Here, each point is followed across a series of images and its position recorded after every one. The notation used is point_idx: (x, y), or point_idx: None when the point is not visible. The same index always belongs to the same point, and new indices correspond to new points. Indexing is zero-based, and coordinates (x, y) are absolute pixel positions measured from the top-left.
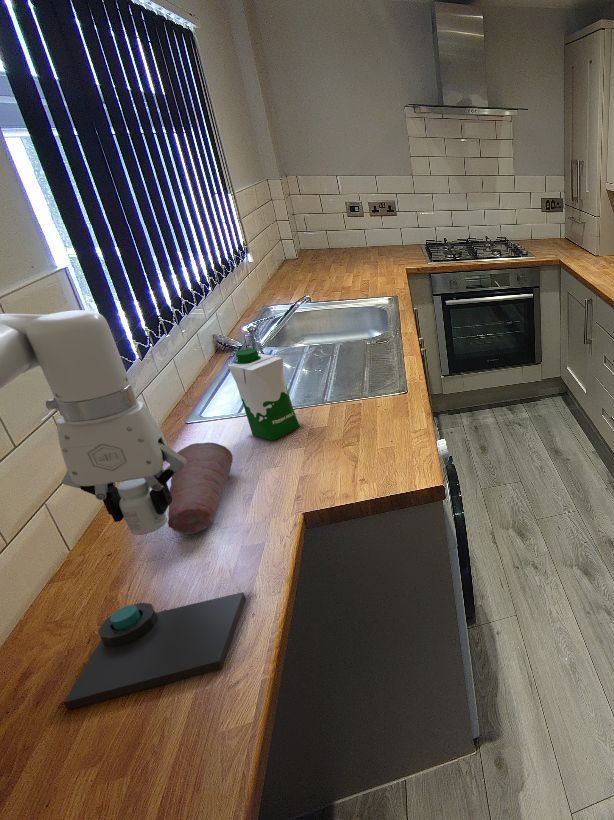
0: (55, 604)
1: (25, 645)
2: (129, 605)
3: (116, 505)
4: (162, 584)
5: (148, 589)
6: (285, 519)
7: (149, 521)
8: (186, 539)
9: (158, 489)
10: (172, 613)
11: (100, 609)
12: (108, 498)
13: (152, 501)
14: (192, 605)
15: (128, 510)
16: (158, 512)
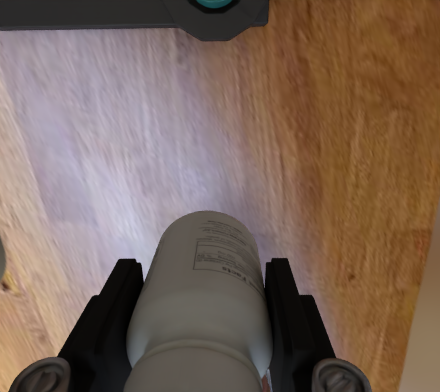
0: (409, 162)
1: (433, 47)
2: (210, 2)
3: (276, 321)
4: (218, 152)
5: (241, 145)
6: (38, 280)
7: (171, 239)
8: None
9: (51, 366)
10: (132, 3)
11: (318, 113)
12: (304, 361)
13: (118, 307)
14: (95, 19)
15: (215, 277)
16: (128, 262)
